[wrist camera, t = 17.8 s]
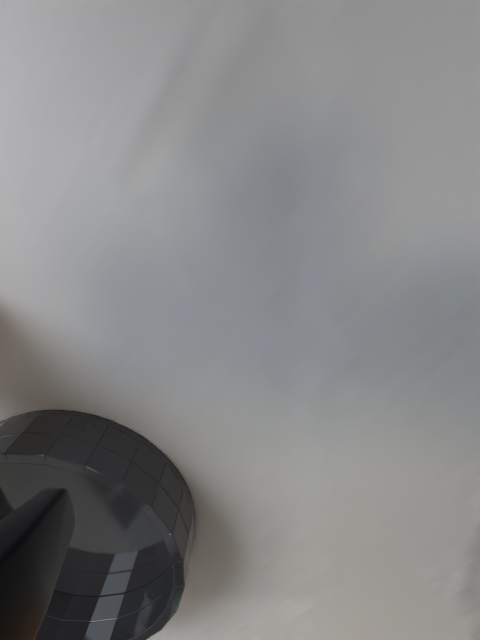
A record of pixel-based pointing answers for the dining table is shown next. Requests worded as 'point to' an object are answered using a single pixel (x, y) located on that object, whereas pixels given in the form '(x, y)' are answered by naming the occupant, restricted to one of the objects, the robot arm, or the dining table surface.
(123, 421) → the dining table surface
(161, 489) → the pan
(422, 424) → the dining table surface
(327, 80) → the dining table surface
